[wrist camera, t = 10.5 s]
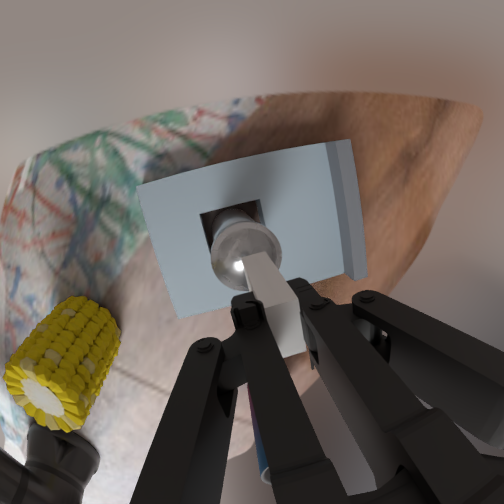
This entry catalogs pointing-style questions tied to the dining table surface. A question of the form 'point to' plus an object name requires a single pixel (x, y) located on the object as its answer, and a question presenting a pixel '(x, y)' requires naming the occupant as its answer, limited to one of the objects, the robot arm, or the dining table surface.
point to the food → (64, 363)
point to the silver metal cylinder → (239, 246)
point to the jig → (270, 214)
